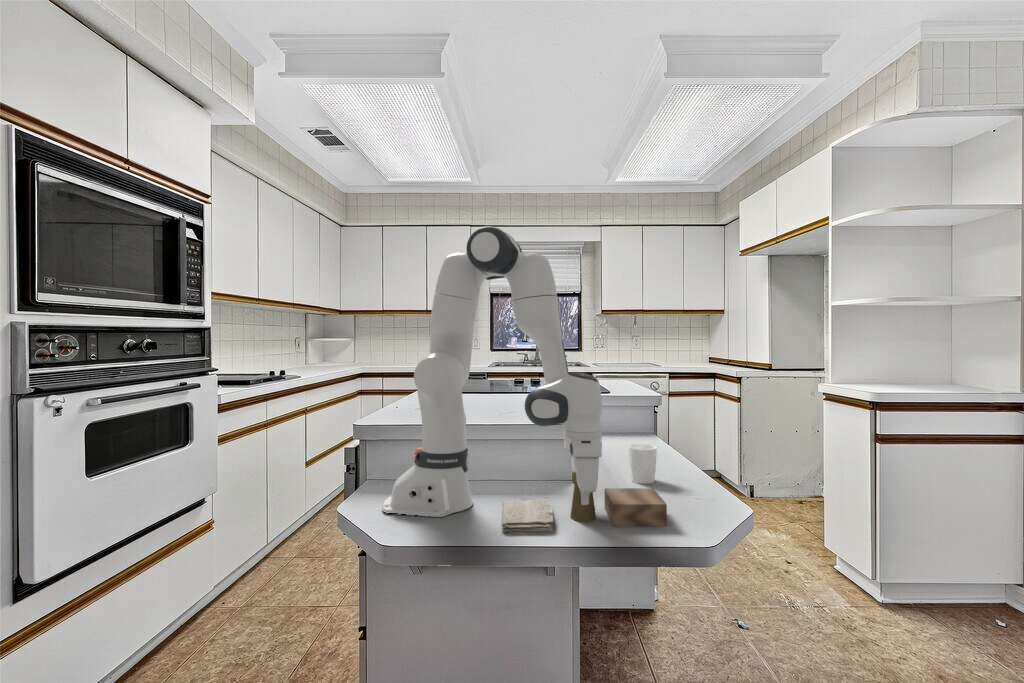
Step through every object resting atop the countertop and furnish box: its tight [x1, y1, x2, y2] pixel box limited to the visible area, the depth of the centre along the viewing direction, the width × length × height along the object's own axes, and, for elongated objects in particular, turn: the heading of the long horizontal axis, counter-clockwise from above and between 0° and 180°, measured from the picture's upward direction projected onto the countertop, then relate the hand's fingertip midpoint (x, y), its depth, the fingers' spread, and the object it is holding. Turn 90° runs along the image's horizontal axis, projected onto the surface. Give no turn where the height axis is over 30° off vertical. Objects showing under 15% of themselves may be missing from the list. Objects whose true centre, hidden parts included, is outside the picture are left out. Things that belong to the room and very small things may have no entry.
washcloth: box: [500, 498, 554, 534], centre depth 125 cm, size 12×18×3 cm, turn 1°
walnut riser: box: [604, 487, 668, 528], centre depth 125 cm, size 12×12×5 cm
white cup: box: [628, 443, 658, 485], centre depth 155 cm, size 8×8×10 cm
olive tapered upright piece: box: [569, 472, 597, 523], centre depth 126 cm, size 6×6×11 cm
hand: (583, 499), depth 126 cm, fingers closed on olive tapered upright piece, 5 cm apart
